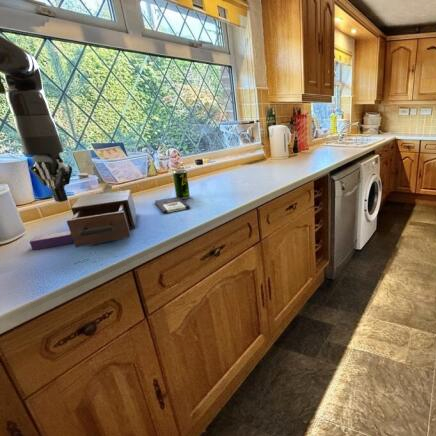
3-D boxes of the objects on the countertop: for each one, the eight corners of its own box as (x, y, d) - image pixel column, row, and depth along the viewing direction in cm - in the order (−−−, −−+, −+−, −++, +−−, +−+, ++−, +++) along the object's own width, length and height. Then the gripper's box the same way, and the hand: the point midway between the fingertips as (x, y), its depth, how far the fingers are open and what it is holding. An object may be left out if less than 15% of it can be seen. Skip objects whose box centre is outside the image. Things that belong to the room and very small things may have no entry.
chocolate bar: (178, 196, 129) (189, 205, 115) (178, 198, 129) (189, 208, 116) (155, 200, 124) (163, 211, 110) (155, 202, 124) (163, 213, 111)
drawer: (129, 242, 84) (122, 216, 82) (72, 254, 79) (62, 226, 76) (132, 222, 100) (126, 200, 97) (85, 230, 94) (77, 207, 92)
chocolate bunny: (98, 208, 120) (91, 183, 117) (118, 202, 127) (111, 179, 123) (106, 209, 118) (99, 185, 114) (126, 204, 124) (120, 180, 121)
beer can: (173, 198, 128) (169, 170, 125) (182, 195, 134) (178, 168, 130) (184, 199, 127) (180, 171, 124) (192, 196, 132) (189, 169, 129)
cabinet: (135, 228, 97) (127, 199, 94) (81, 238, 91) (71, 207, 88) (136, 215, 110) (130, 189, 107) (89, 222, 104) (81, 196, 101)
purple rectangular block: (32, 250, 84) (29, 241, 83) (37, 245, 87) (33, 236, 86) (73, 242, 88) (70, 234, 87) (75, 238, 91) (73, 230, 90)
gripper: (73, 133, 76) (93, 198, 82) (38, 133, 80) (60, 196, 86) (39, 135, 70) (63, 206, 76) (3, 135, 74) (29, 203, 80)
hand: (61, 201), depth 81 cm, fingers closed
